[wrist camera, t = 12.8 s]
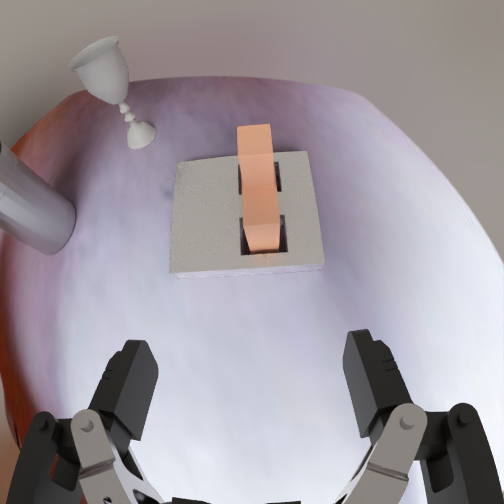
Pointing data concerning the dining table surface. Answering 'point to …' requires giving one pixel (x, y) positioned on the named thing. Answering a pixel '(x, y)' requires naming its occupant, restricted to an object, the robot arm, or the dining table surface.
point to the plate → (240, 220)
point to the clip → (258, 189)
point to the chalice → (111, 84)
